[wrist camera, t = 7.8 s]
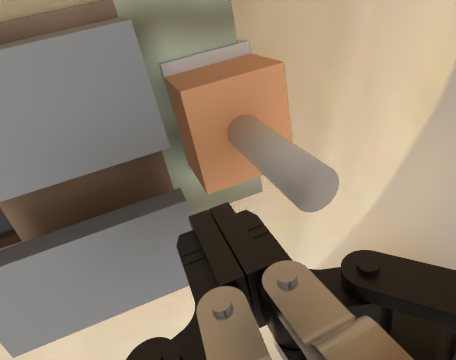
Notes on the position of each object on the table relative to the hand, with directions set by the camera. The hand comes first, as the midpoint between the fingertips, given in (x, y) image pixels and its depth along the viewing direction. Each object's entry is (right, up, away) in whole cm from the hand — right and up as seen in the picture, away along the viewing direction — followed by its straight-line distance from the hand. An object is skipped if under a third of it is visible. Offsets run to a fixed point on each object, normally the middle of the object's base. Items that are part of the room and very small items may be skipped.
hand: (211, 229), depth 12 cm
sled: (0, +7, +12) cm, 14 cm away
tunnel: (-10, +4, +10) cm, 14 cm away
